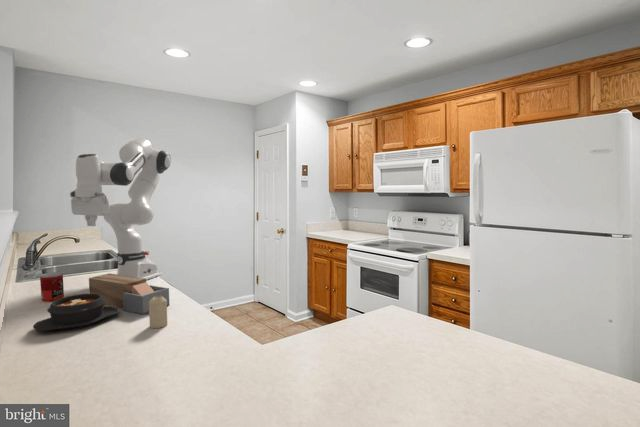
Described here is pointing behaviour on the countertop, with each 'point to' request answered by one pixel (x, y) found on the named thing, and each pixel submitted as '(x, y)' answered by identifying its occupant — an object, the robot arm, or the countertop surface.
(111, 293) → the brown wooden block
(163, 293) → the box
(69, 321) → the casserole
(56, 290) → the canned food
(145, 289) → the tile terracotta
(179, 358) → the countertop surface
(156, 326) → the candle
